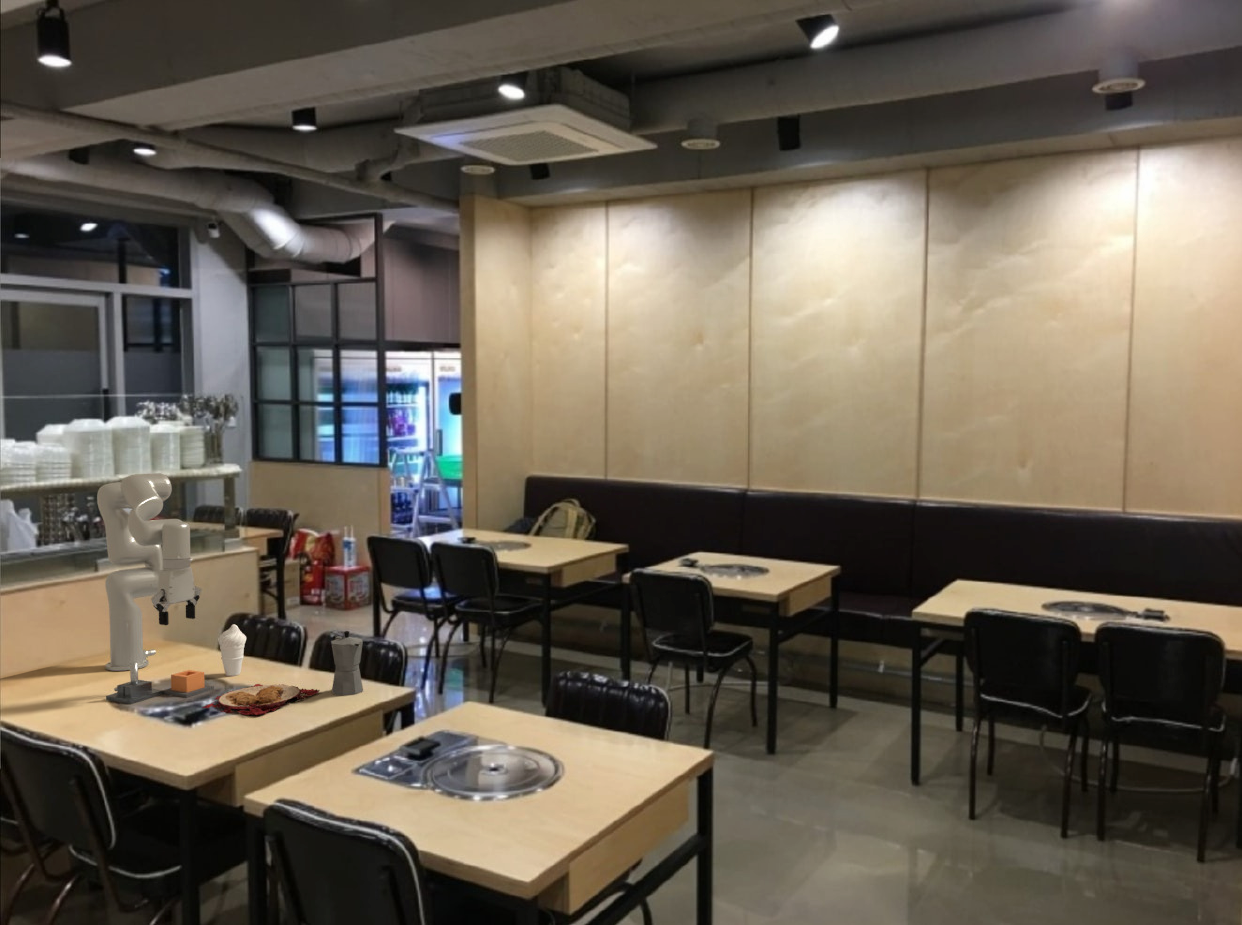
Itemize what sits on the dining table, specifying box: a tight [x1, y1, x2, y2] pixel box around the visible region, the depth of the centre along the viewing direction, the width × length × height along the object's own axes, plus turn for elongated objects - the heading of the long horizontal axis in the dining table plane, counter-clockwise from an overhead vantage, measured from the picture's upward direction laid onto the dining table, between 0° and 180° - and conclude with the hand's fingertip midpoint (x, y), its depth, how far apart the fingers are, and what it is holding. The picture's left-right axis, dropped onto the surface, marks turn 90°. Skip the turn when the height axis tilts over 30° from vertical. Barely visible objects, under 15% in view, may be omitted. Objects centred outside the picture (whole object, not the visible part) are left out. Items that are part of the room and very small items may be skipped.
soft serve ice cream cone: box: [217, 624, 247, 677], centre depth 315 cm, size 8×8×16 cm
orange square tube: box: [170, 669, 206, 692], centre depth 296 cm, size 6×6×4 cm
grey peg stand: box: [105, 662, 164, 705], centre depth 289 cm, size 11×10×10 cm
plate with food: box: [201, 683, 320, 716], centre depth 286 cm, size 24×26×4 cm
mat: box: [163, 684, 215, 698], centre depth 296 cm, size 10×10×1 cm
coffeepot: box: [330, 630, 364, 696], centre depth 296 cm, size 15×9×18 cm, turn 44°
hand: (177, 621), depth 296 cm, fingers open, 9 cm apart
